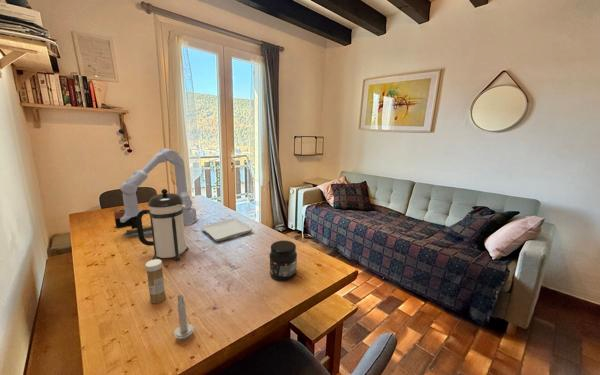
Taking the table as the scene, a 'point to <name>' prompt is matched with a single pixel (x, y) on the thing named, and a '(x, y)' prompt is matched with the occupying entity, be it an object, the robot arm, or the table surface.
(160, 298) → the sprinkles bottle
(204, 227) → the salad plate
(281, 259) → the supplement container
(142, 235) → the coffee press
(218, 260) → the table surface
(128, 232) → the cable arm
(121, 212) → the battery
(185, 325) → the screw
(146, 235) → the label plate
